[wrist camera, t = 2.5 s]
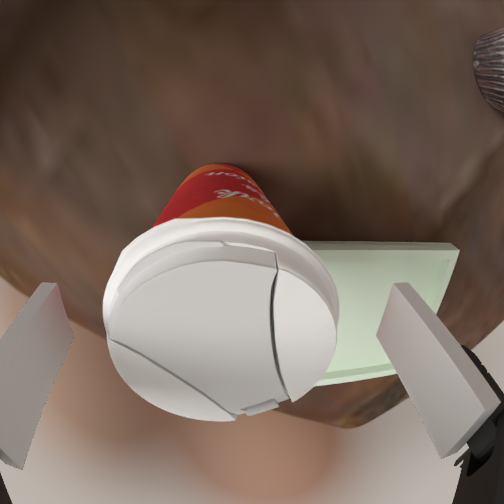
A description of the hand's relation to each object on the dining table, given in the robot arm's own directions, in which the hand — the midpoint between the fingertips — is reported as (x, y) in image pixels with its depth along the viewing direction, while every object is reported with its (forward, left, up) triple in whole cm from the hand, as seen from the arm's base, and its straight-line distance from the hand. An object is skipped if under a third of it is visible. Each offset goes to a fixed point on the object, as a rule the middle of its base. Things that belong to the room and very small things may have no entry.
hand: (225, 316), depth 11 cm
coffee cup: (0, 0, -13) cm, 13 cm away
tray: (+14, -11, -13) cm, 22 cm away
